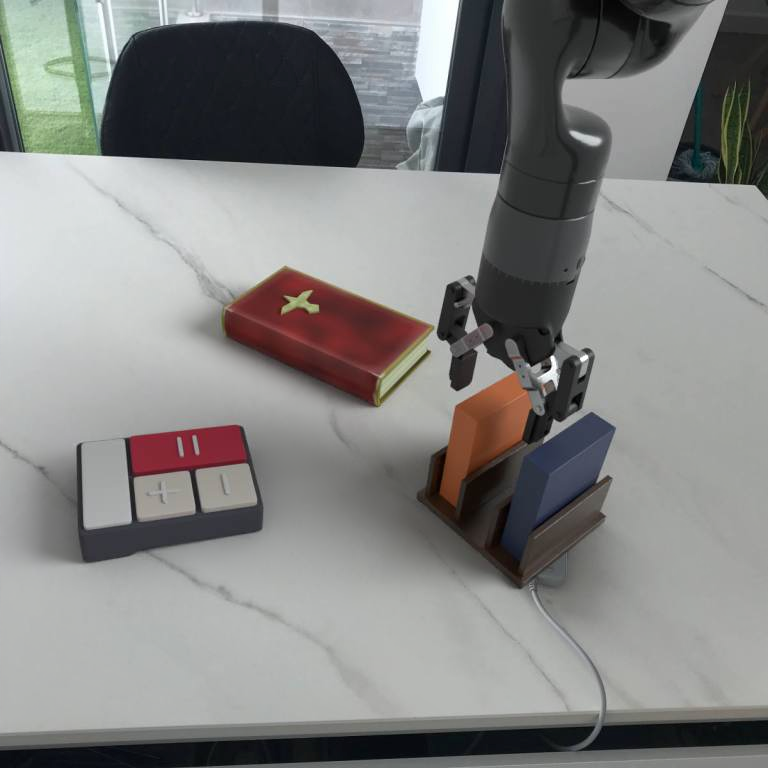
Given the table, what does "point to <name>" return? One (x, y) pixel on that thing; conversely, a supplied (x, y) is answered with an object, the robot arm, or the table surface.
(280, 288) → the hardcover book
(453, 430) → the orange book
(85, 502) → the calculator
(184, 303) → the table surface
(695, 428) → the table surface
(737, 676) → the table surface
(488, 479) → the book rack
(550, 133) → the robot arm
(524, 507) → the navy book
